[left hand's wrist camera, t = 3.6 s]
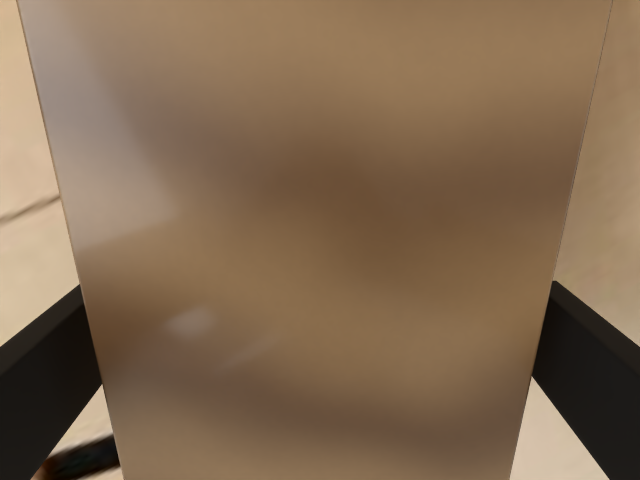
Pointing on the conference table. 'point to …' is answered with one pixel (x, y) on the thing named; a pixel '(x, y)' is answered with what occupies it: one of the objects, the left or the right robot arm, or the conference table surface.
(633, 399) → the left robot arm
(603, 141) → the conference table surface
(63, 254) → the conference table surface
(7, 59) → the conference table surface
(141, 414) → the cabinet
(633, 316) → the conference table surface
